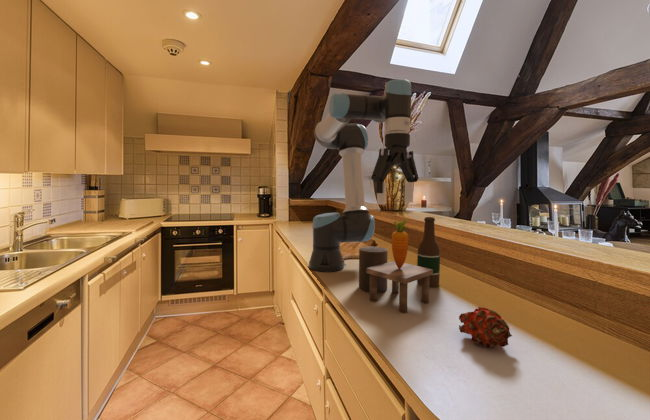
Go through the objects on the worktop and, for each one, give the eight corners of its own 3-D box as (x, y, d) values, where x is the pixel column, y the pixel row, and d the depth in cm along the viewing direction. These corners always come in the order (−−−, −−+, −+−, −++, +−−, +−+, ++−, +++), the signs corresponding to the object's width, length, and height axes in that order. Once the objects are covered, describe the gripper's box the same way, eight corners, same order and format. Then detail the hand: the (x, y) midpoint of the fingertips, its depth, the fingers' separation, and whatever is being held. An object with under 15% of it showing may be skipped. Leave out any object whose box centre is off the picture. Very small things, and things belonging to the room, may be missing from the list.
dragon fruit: (509, 366, 61) (460, 346, 72) (528, 334, 64) (478, 320, 75) (489, 337, 60) (442, 321, 70) (509, 305, 63) (461, 295, 74)
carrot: (387, 267, 93) (388, 219, 91) (401, 265, 95) (402, 218, 93) (397, 271, 88) (398, 221, 87) (411, 270, 90) (412, 220, 89)
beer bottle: (436, 281, 111) (438, 216, 109) (442, 288, 104) (444, 218, 102) (414, 280, 112) (416, 216, 110) (419, 287, 104) (420, 218, 103)
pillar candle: (364, 294, 98) (364, 248, 97) (355, 284, 108) (355, 243, 107) (392, 291, 100) (392, 247, 99) (380, 282, 110) (381, 242, 109)
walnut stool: (366, 299, 93) (366, 268, 92) (394, 289, 102) (394, 260, 101) (404, 314, 82) (404, 278, 82) (432, 302, 91) (433, 269, 91)
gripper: (379, 127, 81) (378, 206, 84) (430, 136, 97) (428, 202, 99) (359, 131, 87) (358, 204, 89) (411, 138, 103) (409, 200, 105)
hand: (395, 203), depth 94 cm, fingers open, 13 cm apart
